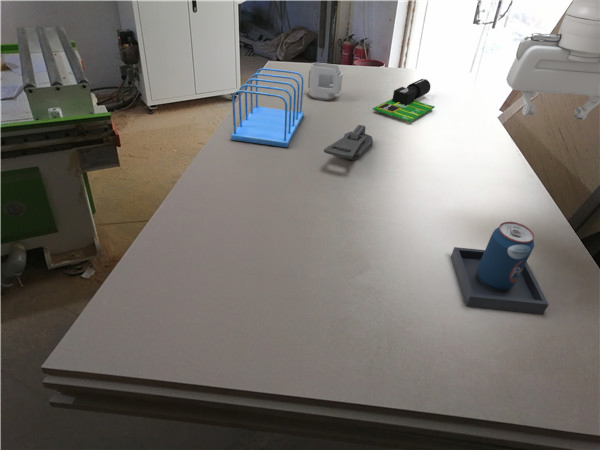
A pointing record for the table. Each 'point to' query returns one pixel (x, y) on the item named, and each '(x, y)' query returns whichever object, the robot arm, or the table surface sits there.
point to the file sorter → (268, 114)
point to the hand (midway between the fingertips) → (552, 116)
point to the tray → (475, 294)
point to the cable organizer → (324, 81)
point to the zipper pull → (351, 144)
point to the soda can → (505, 256)
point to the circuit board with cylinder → (407, 101)
